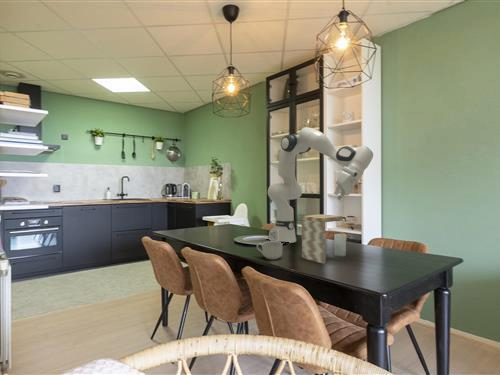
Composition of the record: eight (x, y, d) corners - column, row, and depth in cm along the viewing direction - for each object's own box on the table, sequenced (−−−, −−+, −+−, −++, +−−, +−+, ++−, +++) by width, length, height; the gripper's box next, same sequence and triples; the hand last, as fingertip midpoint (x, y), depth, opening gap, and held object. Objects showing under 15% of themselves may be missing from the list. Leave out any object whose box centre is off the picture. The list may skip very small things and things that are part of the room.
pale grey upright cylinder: (332, 254, 167) (331, 234, 166) (339, 253, 170) (339, 233, 170) (340, 256, 162) (340, 236, 161) (348, 255, 165) (348, 234, 165)
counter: (301, 257, 160) (301, 215, 160) (320, 254, 168) (320, 214, 168) (323, 263, 148) (323, 218, 148) (342, 259, 156) (342, 216, 155)
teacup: (286, 257, 162) (286, 242, 162) (277, 261, 152) (277, 245, 152) (262, 254, 169) (262, 239, 169) (253, 258, 159) (253, 243, 159)
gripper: (349, 178, 169) (335, 199, 169) (343, 165, 151) (327, 188, 151) (359, 183, 165) (345, 205, 165) (354, 170, 148) (338, 194, 148)
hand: (337, 197), depth 158 cm, fingers open, 8 cm apart
